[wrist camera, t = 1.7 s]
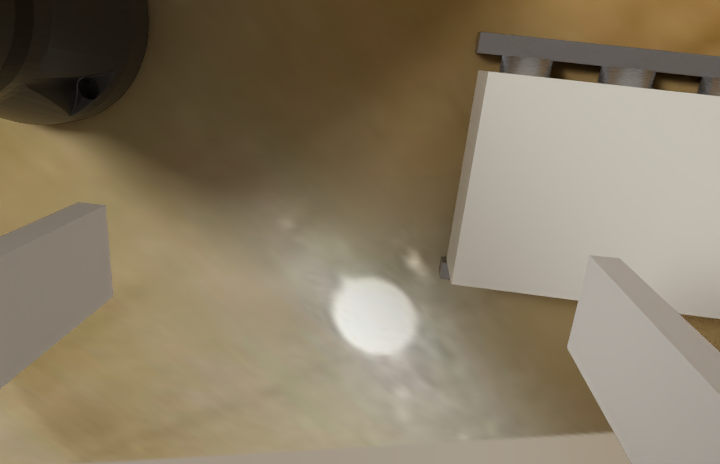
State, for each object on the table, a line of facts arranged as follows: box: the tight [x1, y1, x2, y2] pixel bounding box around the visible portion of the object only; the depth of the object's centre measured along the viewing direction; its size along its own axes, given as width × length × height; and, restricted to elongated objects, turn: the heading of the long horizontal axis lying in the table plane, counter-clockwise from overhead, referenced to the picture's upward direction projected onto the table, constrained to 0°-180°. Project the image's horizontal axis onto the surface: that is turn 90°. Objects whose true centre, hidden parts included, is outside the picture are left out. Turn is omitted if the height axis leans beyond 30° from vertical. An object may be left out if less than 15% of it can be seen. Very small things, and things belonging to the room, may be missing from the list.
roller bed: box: [439, 32, 720, 279], centre depth 33 cm, size 16×30×3 cm, turn 84°
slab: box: [447, 70, 720, 319], centre depth 30 cm, size 18×12×4 cm, turn 84°
